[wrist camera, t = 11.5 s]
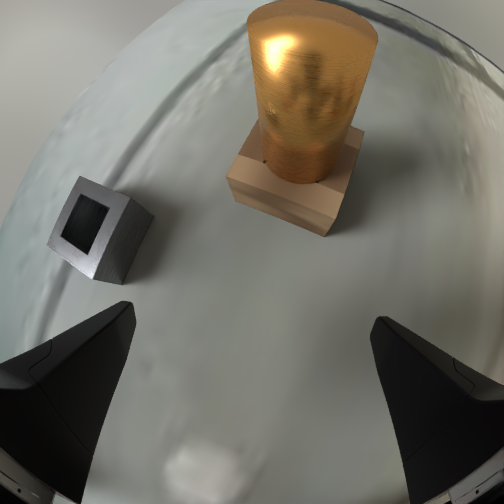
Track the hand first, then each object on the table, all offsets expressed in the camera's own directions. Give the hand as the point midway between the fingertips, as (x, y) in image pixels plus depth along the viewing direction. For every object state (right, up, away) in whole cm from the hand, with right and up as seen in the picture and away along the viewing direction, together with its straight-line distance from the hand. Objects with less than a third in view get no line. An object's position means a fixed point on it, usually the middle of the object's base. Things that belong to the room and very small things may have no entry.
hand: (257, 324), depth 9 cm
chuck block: (-12, +4, +11) cm, 17 cm away
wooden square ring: (+3, +8, +11) cm, 14 cm away
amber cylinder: (+3, +8, +10) cm, 14 cm away
